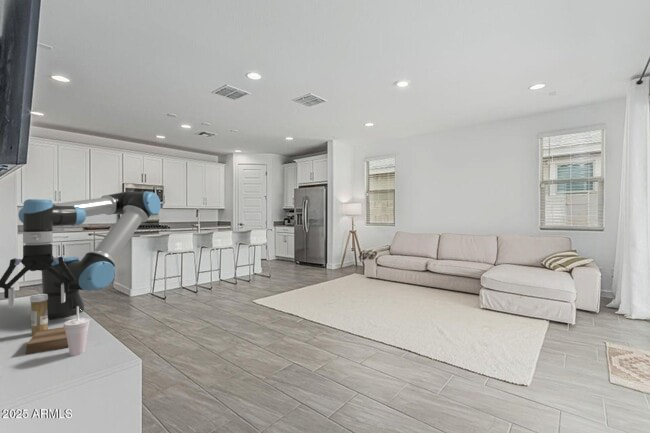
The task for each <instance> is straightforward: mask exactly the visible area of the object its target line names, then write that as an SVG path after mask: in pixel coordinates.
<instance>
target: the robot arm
mask: <svg viewBox="0 0 650 433" xmlns="http://www.w3.org/2000/svg"><path fill="white" fill-rule="evenodd" d="M22 206H23V207H22V208H20V210H18V214H17V215H18V219H19V222H21V223H22V226H23V227H22V228H23V229H22V230H23V232H22V240H23V241H22V243H23V244H24V245H23V246H22V252H23V253H22V259H21V258H15V257H14V258H12V259H10V260H9V264H8V267H7V269H6V270H5V272H4V273H3V275H1V278H0V288H1V289H3V290H4V294H3V296H4V299H8V303H7V304H8V305H7V306H8V307H7V308H8V309H9V310H10V309H13V308H14V307H15V286H14V284H16V282H17V281H19V279H21V278H22V277H23V276H24V275H25V274H26V273H27V272H28V271H31V272H36V271H40V272H41V284H42V286H41V287H42V289H41V291H42V294H47V295H48V300H47V310H48V320H55V319H62V318H67V317H72V316H75V315H77V306H79V314H81V313H82V312H84V311H85V304H84V300H83V298H82V296H81V293H80V291H87V292H91V291H100V290H103V289H105V288H107V287H108V286H110V285H111V283H112V282H113V280H114V278H115V273H116V269H115V268H116V263H115V261H116V259H117V257H118V256H119V254H120V253H121V252H122V251H123V249H124V247H125V246H126V245H127V244H128V242H129V241H130V239H131V238H132V236H133V235H134V234H135V232H136V231H137V229H138V227H139V226H140V225H141V224H142V223H146V222H147V221H148V220H149V218H150V217H151V216H156V215H159V213H160V211H161V206H162V204H161V198H160V197H159V196H158V194H157V193H155V192H154V191H148V190H147V191H122V192H117V193H116V192H115V193H113V194H112V193H111V194H106V195H105V194H104V195H102V196H101V197H99V198H91V199H90V198H89V199H83V200H82V199H81V200H73V201H66V202H65V201H64V202H57V203H53V201H52V200H51V199H37V198H36V199H35V198H34V199H32V198H31V199H25V200H24V202H23V205H22ZM103 214H104V215H107V216H110V215H121V216H120V217H119V218H118V219H117V220H116V221H115V223H114V225H113V226H112V227H111V228H110V229H109V231H108V232H107V234H106V235H105V236H104V237H103V238H102V240H101V241H100V242H99V243H98V245H97V247H95V249H94V250H93V251H89V252H86V253H85V255H84V256H83V257H82V259H80V258H79V257H78V256H68V257H65V256H63V255H61V256H57V257H54V256H53V244H52V242H53V227H63V226H64V227H65V226H70V227H71V226H73V227H75V226H80V225H83V223H85V221H86V219H87V217H91V216H92V217H93V216H98V215H103ZM20 263H21V264H22V265H23V266H24V267H23V268H22V269H21V270H20V271H19V272H18V273H17V274H15V276H14V277H13V278H11V279H10V280H9V281H8V279H9V278H10V276H11V275H12V273H13V272H14V271H15V269H16V268H17V266H18V265H20ZM7 281H8V282H7ZM6 282H7V283H6ZM12 286H13V287H12ZM80 309H81V310H82V311H81V310H80Z"/></svg>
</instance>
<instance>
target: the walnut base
mask: <svg viewBox="0 0 650 433" xmlns="http://www.w3.org/2000/svg"><path fill="white" fill-rule="evenodd" d="M25 346H26V347H25V350H26V351H25V354H26V355H30V354H32V355H33V354H37V353H42V352H48V351H55V350H62V349H66V348H68V342H67V336H66V331H65V328H64V327H57V328H50V329H49V328H48V330H41V331H37V332H36V334H35V335H32V337H31V338H30V339H29V341H28V342H27V343H26V344H25Z"/></svg>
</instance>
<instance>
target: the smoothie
mask: <svg viewBox="0 0 650 433" xmlns="http://www.w3.org/2000/svg"><path fill="white" fill-rule="evenodd" d="M90 323H91V318H88V317H80V313H79V306H77V314H76V318H73V319H70V320H67V321H65V322H64V323H63V327H64V328H65V331H66V336H67V342H68V347H67V348H68V352H69V356H73V357H74V356H80V355H82V354H84V353H86V347H87V340H88V333H89V327H90Z"/></svg>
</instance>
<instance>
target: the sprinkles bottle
mask: <svg viewBox="0 0 650 433" xmlns="http://www.w3.org/2000/svg"><path fill="white" fill-rule="evenodd" d="M47 300H48V295H47V294H43V293H38V294H33V295H30V297H29V301H30V326H31V331H30V335H31V336H34V335H35V334H36V332H37V331H41V330H48V329H49V327H48V325H49V319H48V310H47Z"/></svg>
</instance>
